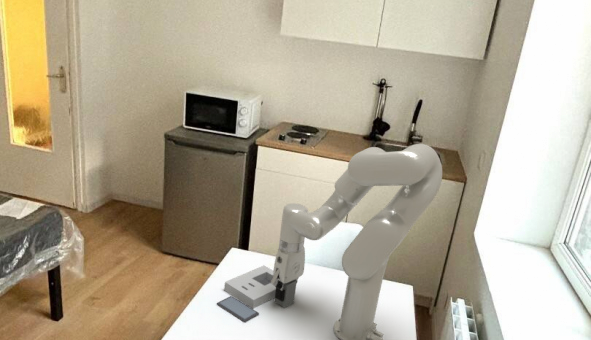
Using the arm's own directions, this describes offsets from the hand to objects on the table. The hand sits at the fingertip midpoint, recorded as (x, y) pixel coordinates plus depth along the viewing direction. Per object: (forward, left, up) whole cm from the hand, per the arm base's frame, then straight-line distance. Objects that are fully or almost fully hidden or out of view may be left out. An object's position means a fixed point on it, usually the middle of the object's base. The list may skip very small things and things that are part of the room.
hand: (284, 296), depth 152 cm
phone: (+6, +14, -3) cm, 16 cm away
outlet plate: (+10, +1, -2) cm, 11 cm away
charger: (0, 0, -2) cm, 2 cm away
